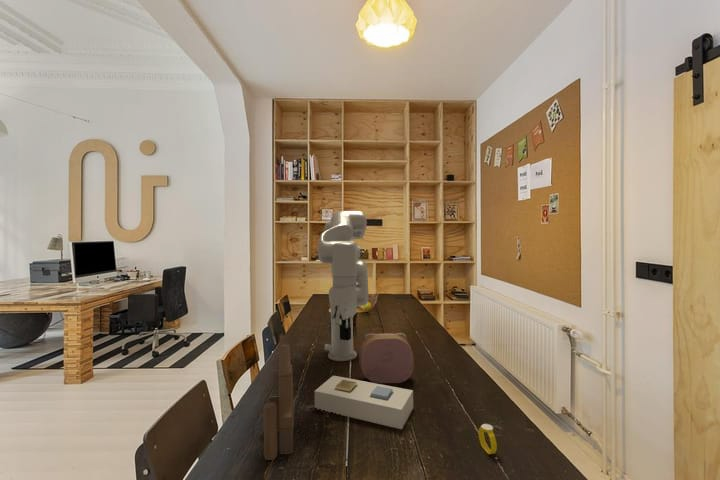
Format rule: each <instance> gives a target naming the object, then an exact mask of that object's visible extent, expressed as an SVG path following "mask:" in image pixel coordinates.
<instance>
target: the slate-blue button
mask: <svg viewBox="0 0 720 480" xmlns="http://www.w3.org/2000/svg"><path fill="white" fill-rule="evenodd" d="M391 395H392V389H390V388H385V387H380V386H377V387H376V388H375V389H374V390H373V391H372V393H371V397H372V398H377V399H382V400H386V401H388V400H389V398H390V397H391Z"/></svg>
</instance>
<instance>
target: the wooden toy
mask: <svg viewBox="0 0 720 480" xmlns="http://www.w3.org/2000/svg"><path fill="white" fill-rule="evenodd" d="M277 375H278V395H275V396H274V395H273V396H269V397H268V399H269V400H268V402H266V403H265V404H264V405H263V408H262V409H263V413H262V414H263V454H264V455H263V457H264V459H265V460H266V461H267V460H272V461H274V460H276V459H277V458H278V455H279V454H285V453H292V454H293V451H294V450H293V449H294V446H293V445H294V440H293V439H294V427H295V419H294V418H295V417H294V416H295V412H294V411H295V410H294V408H295V407H294V405H295V404H294V402H295V401H294V384H293V381H294V380H293V379H294V378H293V365H292V364H291V347H290V344H281V345H279V349H278V371H277ZM277 430H279V431H277ZM276 457H277V458H276ZM275 458H276V459H275ZM273 459H274V460H273Z"/></svg>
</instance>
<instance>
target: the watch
mask: <svg viewBox="0 0 720 480" xmlns="http://www.w3.org/2000/svg"><path fill="white" fill-rule="evenodd" d="M485 433H487V435H488V437H489V443H490V447H489V446H488V444H487V442H486V438H485ZM494 433H495V432H494V427H493V425H491V424H489V423H483V424H482V425H481V426H480V427H479V428H478V439H479V443H480V445H481V448H483V450H484V452H486V453H487V455H495V454H496V452H497V449H498V448H497V447H498V446H497V445H498V443H497V440H496V436H495V434H494Z"/></svg>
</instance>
